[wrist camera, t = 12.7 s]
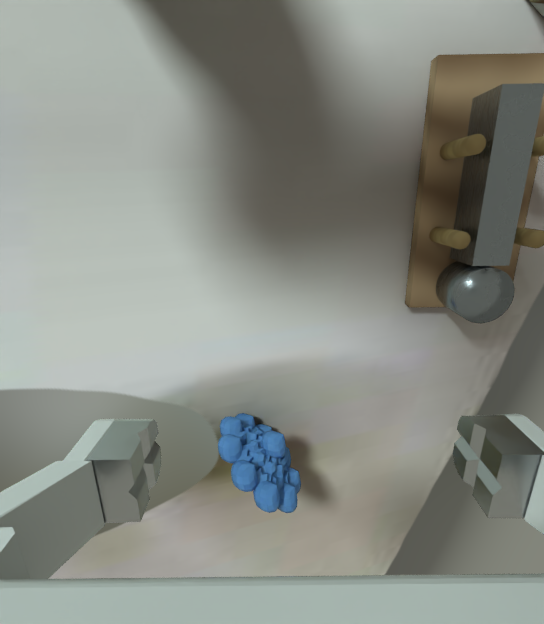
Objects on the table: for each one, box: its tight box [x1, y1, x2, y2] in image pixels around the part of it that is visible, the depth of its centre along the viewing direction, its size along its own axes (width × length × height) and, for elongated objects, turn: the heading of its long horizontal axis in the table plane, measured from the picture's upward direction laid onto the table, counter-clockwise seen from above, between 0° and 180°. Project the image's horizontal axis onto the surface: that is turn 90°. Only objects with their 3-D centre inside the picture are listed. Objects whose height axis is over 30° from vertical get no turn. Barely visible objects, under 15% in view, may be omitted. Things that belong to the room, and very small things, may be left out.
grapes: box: [218, 413, 301, 513], centre depth 40 cm, size 12×7×12 cm, turn 51°
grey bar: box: [436, 83, 544, 323], centre depth 34 cm, size 21×6×4 cm, turn 1°
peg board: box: [405, 53, 544, 307], centre depth 34 cm, size 24×11×6 cm, turn 1°
